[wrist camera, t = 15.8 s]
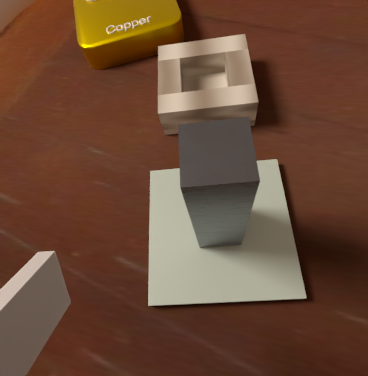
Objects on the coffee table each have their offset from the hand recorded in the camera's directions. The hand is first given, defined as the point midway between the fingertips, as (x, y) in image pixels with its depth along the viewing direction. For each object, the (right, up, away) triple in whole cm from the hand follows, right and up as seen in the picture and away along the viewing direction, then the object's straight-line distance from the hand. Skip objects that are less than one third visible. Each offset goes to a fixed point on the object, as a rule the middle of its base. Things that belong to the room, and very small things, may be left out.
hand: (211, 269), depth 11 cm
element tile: (-10, +29, +33) cm, 45 cm away
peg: (+2, 0, +16) cm, 16 cm away
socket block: (+2, +15, +24) cm, 29 cm away
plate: (+2, -1, +17) cm, 17 cm away
